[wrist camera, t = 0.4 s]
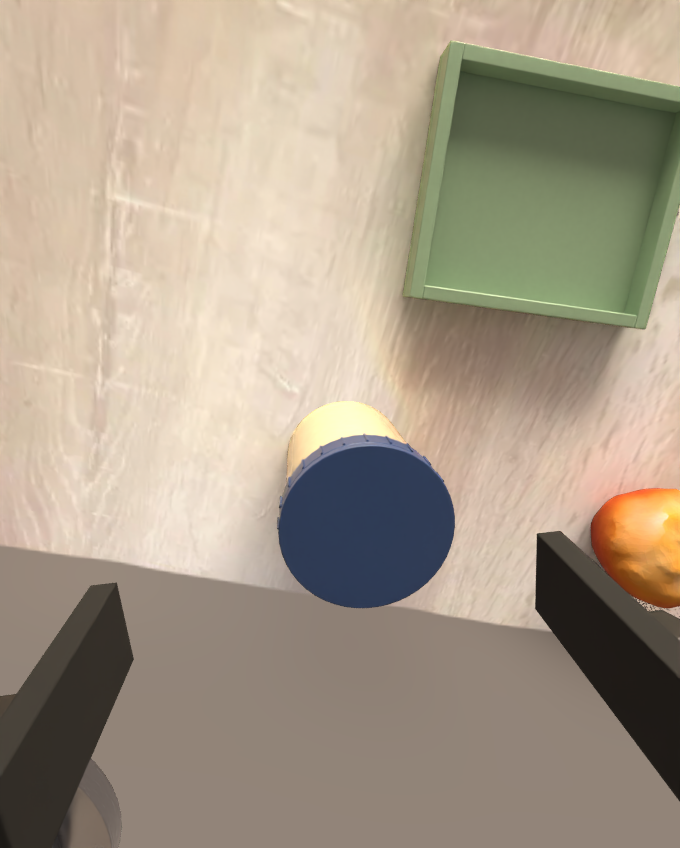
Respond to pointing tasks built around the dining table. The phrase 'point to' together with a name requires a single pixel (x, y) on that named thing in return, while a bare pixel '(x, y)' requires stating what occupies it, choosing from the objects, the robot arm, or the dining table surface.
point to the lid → (365, 521)
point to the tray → (545, 188)
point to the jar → (336, 429)
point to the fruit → (641, 544)
